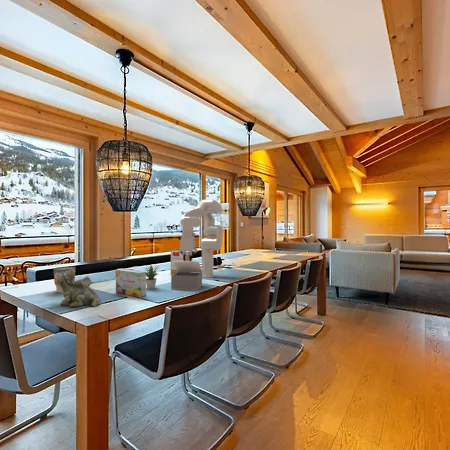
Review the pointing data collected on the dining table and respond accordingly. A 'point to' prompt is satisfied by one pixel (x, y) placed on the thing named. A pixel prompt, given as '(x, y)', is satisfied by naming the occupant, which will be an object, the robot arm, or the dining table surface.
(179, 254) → the hard drive box
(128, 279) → the snack box
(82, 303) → the sculpture
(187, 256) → the flap
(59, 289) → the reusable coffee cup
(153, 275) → the house plant
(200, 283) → the carton
